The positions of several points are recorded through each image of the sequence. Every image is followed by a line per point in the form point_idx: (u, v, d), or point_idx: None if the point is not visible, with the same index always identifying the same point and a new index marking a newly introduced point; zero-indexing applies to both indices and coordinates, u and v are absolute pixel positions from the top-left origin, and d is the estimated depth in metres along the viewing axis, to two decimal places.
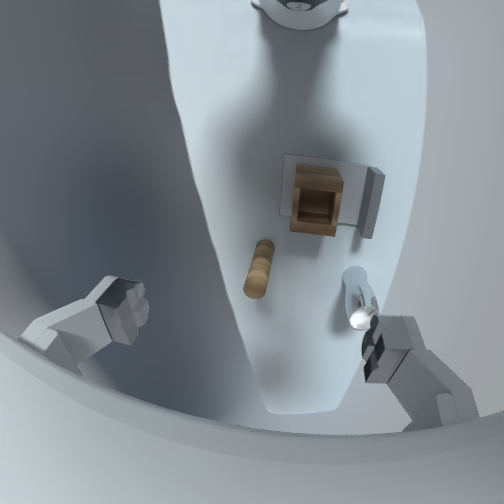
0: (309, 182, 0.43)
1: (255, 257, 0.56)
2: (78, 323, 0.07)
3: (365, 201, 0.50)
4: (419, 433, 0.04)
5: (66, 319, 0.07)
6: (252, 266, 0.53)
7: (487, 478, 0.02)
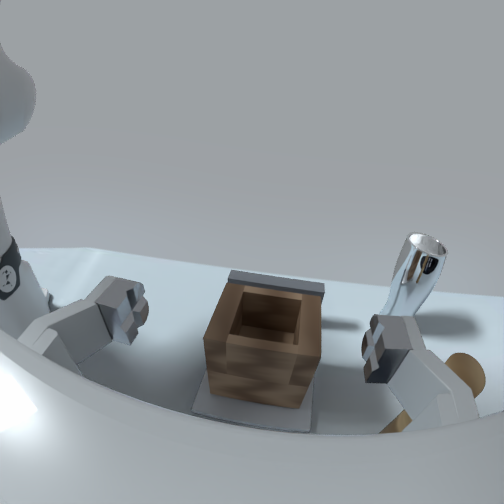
0: (220, 320, 0.24)
1: None
2: (78, 323, 0.07)
3: None
4: (419, 433, 0.04)
5: (66, 319, 0.07)
6: None
7: (487, 478, 0.02)
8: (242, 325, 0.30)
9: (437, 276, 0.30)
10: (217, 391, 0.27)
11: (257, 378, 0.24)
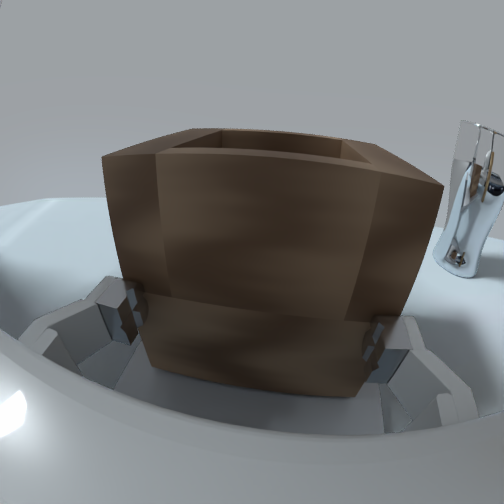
0: (160, 142, 0.09)
1: None
2: (78, 323, 0.07)
3: None
4: (419, 433, 0.04)
5: (66, 319, 0.07)
6: None
7: (487, 478, 0.02)
8: None
9: None
10: (163, 360, 0.12)
11: (255, 304, 0.09)
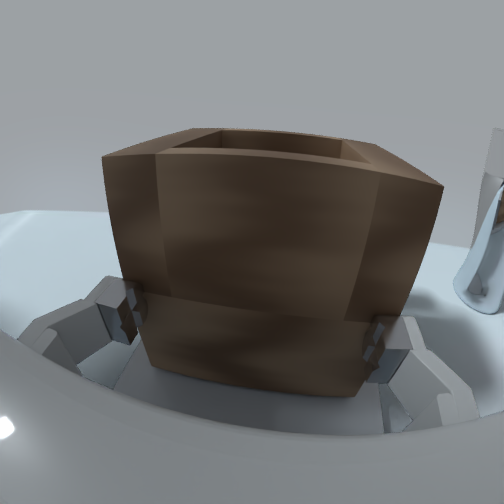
0: (160, 142, 0.09)
1: None
2: (78, 323, 0.07)
3: None
4: (419, 433, 0.04)
5: (66, 319, 0.07)
6: None
7: (487, 478, 0.02)
8: None
9: None
10: (163, 360, 0.12)
11: (255, 304, 0.09)
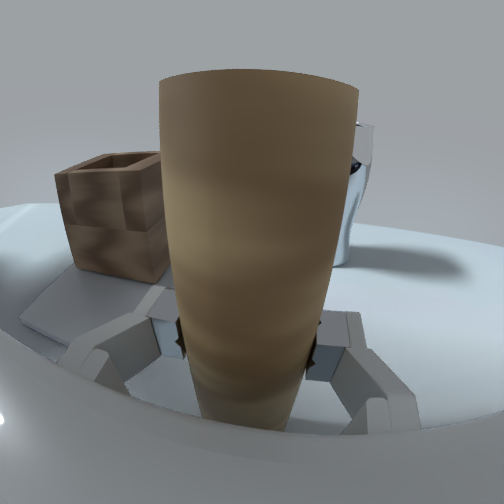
0: (77, 166, 0.21)
1: (196, 385, 0.08)
2: (128, 340, 0.07)
3: None
4: (419, 433, 0.04)
5: (115, 337, 0.07)
6: (183, 318, 0.07)
7: (487, 478, 0.02)
8: None
9: (361, 158, 0.22)
10: (79, 261, 0.24)
11: (99, 224, 0.21)
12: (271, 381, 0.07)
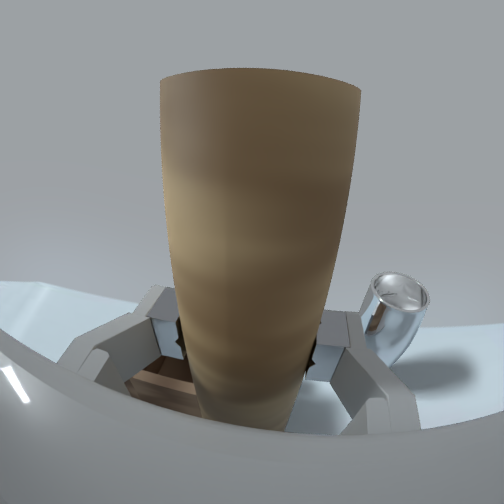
0: None
1: (196, 386, 0.08)
2: (128, 340, 0.07)
3: None
4: (419, 433, 0.04)
5: (115, 337, 0.07)
6: (183, 318, 0.06)
7: (487, 478, 0.02)
8: None
9: (413, 334, 0.22)
10: None
11: None
12: (272, 382, 0.07)
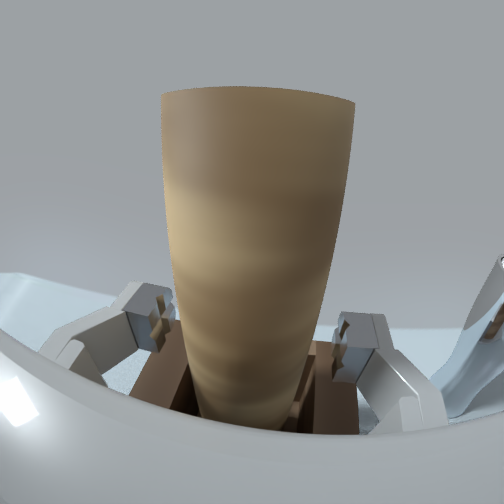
0: None
1: (196, 387, 0.08)
2: (104, 332, 0.07)
3: None
4: (419, 433, 0.04)
5: (92, 329, 0.07)
6: (184, 322, 0.07)
7: (487, 478, 0.02)
8: None
9: None
10: None
11: None
12: (269, 383, 0.07)
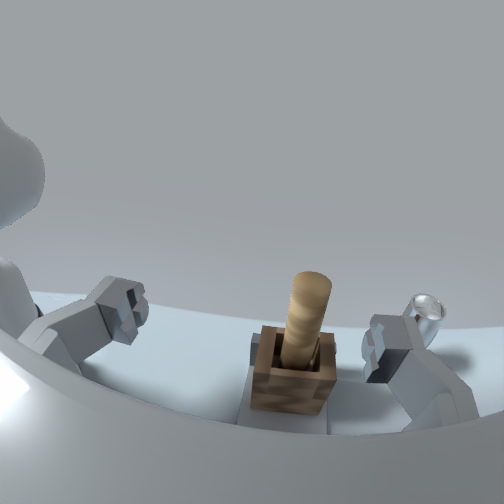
0: (263, 357, 0.32)
1: (287, 346, 0.31)
2: (78, 323, 0.07)
3: None
4: (419, 433, 0.04)
5: (66, 319, 0.07)
6: (291, 327, 0.29)
7: (487, 478, 0.02)
8: (273, 355, 0.38)
9: (435, 334, 0.33)
10: (256, 406, 0.35)
11: (289, 396, 0.32)
12: (310, 341, 0.29)
